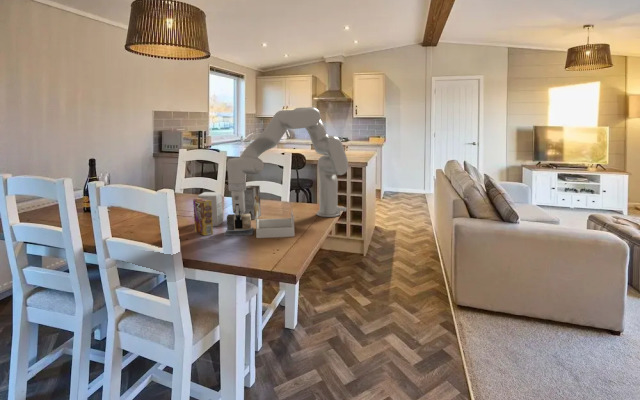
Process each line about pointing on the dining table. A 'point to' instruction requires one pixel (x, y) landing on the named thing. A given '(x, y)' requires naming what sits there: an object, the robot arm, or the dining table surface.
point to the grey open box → (266, 229)
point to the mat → (238, 232)
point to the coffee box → (252, 201)
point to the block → (245, 222)
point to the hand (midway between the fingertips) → (239, 226)
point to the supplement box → (214, 206)
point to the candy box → (203, 216)
